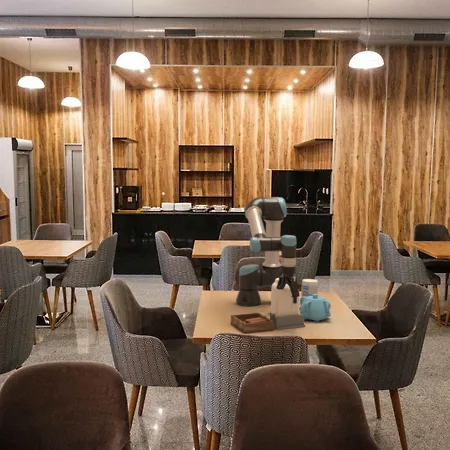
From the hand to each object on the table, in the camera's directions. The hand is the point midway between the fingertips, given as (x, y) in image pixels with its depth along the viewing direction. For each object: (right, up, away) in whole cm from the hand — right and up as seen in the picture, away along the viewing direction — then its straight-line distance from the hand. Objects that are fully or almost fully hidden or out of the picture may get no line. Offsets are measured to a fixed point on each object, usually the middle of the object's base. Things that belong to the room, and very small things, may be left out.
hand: (287, 306), depth 269 cm
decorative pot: (+17, -9, +15) cm, 24 cm away
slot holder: (0, -10, +1) cm, 10 cm away
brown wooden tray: (-18, -10, -2) cm, 21 cm away
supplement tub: (+19, -6, +47) cm, 51 cm away
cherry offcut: (-17, -8, -5) cm, 19 cm away
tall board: (0, -9, +1) cm, 9 cm away
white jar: (0, -8, +25) cm, 26 cm away
